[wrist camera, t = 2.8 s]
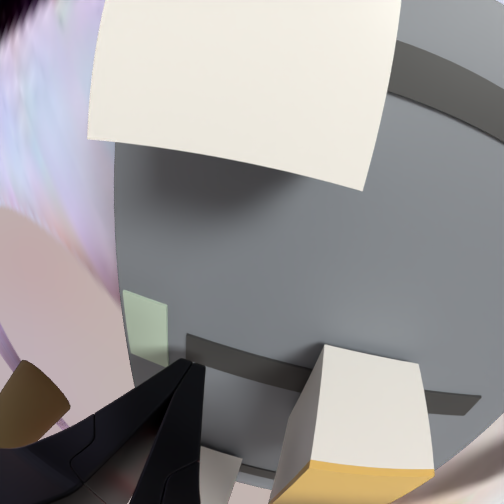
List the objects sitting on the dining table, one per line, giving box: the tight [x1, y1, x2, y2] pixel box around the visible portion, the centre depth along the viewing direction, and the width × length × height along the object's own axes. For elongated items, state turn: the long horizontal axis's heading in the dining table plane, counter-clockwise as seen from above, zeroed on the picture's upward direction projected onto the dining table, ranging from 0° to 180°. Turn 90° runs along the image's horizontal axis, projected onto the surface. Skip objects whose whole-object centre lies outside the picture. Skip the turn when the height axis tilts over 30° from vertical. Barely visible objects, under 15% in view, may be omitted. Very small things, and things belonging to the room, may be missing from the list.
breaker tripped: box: [268, 344, 435, 504], centre depth 7 cm, size 3×4×4 cm
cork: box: [0, 360, 70, 448], centre depth 15 cm, size 6×6×11 cm
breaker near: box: [87, 0, 401, 191], centre depth 3 cm, size 3×4×4 cm
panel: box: [114, 0, 504, 490], centre depth 10 cm, size 16×24×2 cm, turn 171°
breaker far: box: [200, 446, 242, 504], centre depth 12 cm, size 3×4×4 cm
